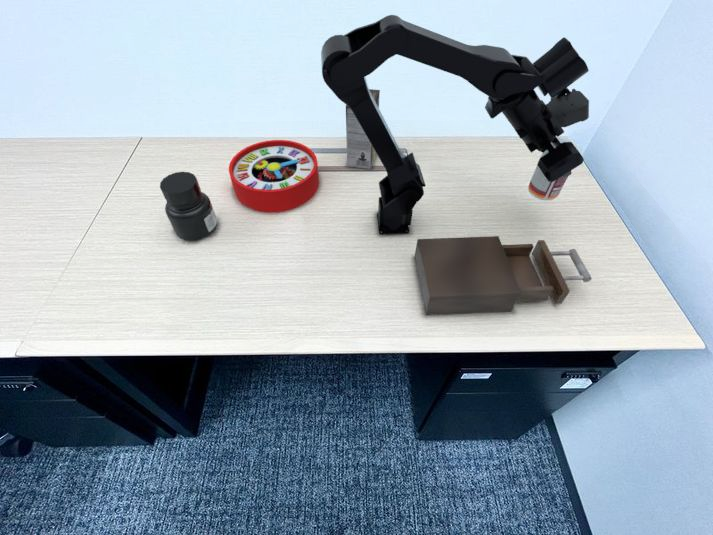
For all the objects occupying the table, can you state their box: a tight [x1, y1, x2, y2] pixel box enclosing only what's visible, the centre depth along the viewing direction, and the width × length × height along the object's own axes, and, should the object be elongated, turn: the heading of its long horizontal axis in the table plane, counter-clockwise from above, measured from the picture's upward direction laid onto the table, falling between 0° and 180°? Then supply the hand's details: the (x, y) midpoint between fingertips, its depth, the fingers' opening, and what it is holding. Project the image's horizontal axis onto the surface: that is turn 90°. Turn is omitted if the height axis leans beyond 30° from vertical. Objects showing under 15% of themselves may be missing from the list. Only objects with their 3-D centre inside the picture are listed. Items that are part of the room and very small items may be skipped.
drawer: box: [502, 239, 593, 305], centre depth 74 cm, size 20×12×4 cm, turn 93°
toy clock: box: [228, 139, 320, 214], centre depth 93 cm, size 20×6×20 cm
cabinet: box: [413, 235, 521, 316], centre depth 73 cm, size 16×14×6 cm
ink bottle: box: [159, 171, 219, 242], centre depth 81 cm, size 10×9×12 cm
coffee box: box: [345, 88, 381, 170], centre depth 96 cm, size 9×6×16 cm
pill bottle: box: [527, 136, 580, 201], centre depth 78 cm, size 6×6×11 cm
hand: (561, 165), depth 78 cm, fingers closed on pill bottle, 6 cm apart
